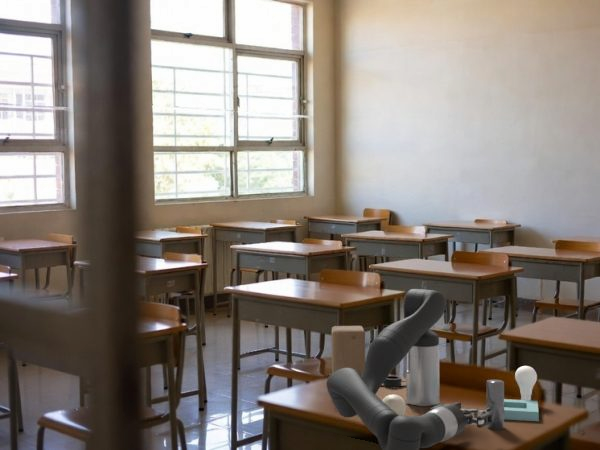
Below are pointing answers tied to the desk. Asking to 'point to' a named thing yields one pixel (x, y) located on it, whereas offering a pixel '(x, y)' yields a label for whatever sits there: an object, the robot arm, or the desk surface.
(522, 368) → the lightbulb
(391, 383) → the black ring with tabs
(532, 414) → the frame
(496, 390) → the brushed steel cylinder
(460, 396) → the desk surface
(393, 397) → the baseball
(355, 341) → the wooden block
